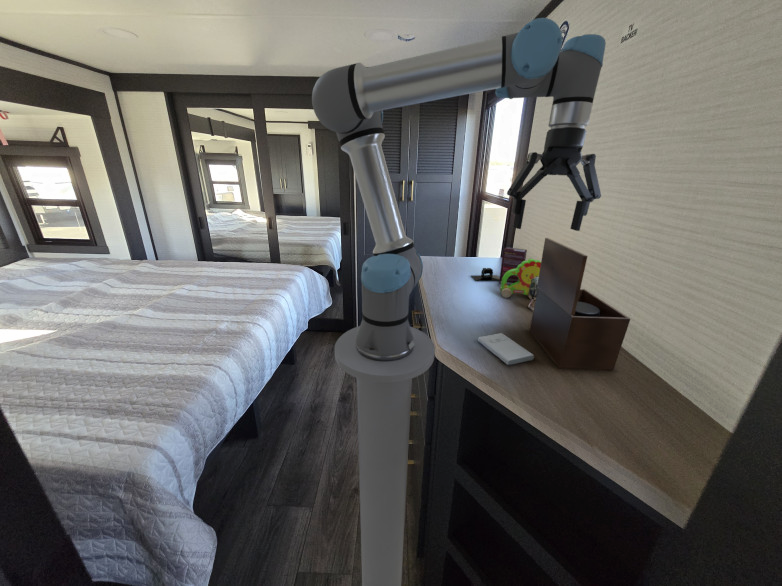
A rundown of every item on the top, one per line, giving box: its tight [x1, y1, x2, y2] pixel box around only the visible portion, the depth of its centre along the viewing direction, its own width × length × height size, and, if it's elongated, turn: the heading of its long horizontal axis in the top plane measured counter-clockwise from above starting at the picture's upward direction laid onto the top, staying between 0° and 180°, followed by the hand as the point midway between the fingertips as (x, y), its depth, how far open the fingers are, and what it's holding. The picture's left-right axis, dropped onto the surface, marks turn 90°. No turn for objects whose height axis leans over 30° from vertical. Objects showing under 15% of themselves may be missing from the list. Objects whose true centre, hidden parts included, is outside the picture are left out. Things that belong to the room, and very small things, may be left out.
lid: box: [537, 237, 588, 315], centre depth 78 cm, size 14×19×1 cm
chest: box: [529, 288, 631, 371], centre depth 83 cm, size 13×19×14 cm
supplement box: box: [498, 246, 528, 287], centre depth 129 cm, size 9×5×16 cm, turn 59°
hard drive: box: [477, 332, 535, 366], centre depth 84 cm, size 2×8×12 cm
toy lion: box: [499, 258, 541, 301], centre depth 118 cm, size 16×5×15 cm, turn 81°
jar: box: [573, 302, 600, 317], centre depth 83 cm, size 9×8×12 cm
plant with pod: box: [527, 276, 539, 312], centre depth 106 cm, size 8×11×20 cm
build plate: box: [470, 267, 500, 282], centre depth 140 cm, size 12×7×5 cm, turn 95°
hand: (545, 229), depth 74 cm, fingers open, 13 cm apart
